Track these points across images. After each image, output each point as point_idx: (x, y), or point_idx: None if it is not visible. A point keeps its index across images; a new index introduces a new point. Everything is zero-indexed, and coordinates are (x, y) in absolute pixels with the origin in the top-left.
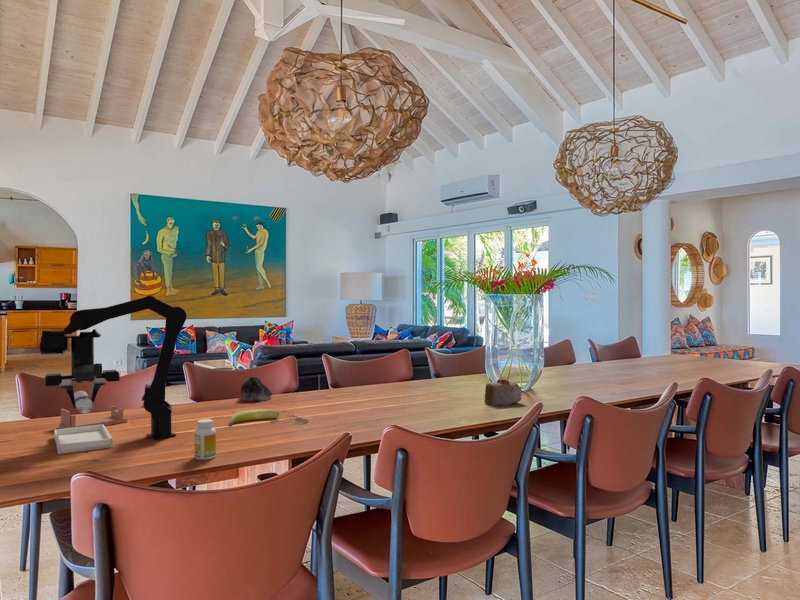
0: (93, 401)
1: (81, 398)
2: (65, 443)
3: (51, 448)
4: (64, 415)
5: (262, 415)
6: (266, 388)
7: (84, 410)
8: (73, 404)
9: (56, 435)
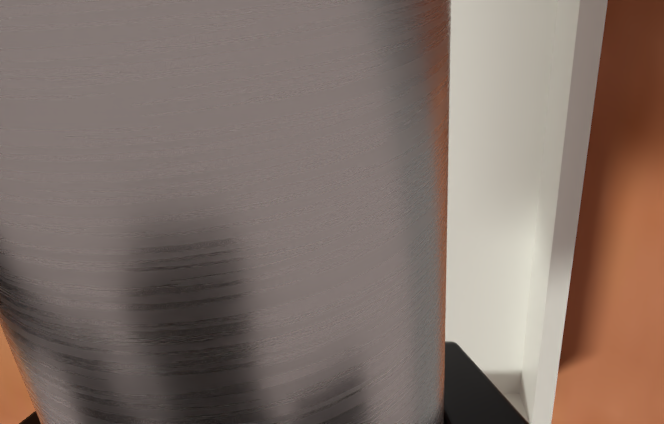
0: (32, 419)
1: (252, 106)
2: (490, 35)
3: (618, 6)
4: None
5: None
6: None
7: None
8: (476, 387)
9: (571, 214)
